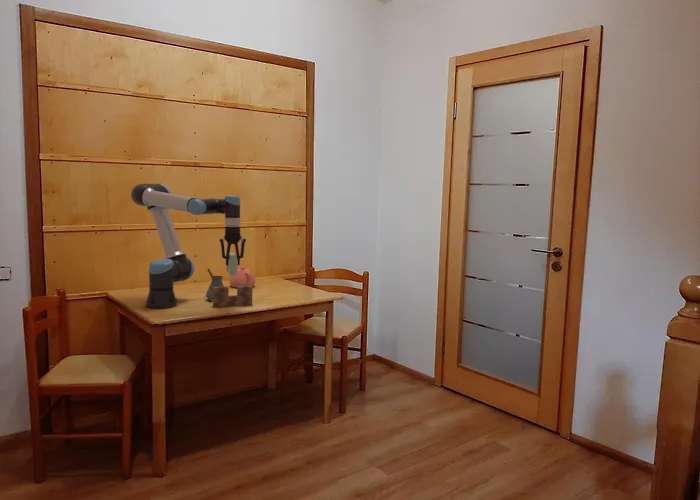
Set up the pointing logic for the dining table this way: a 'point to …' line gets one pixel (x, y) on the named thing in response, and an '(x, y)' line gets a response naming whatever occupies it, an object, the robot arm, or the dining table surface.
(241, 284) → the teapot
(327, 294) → the dining table surface
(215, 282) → the coffee pot
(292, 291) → the dining table surface
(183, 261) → the robot arm
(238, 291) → the walnut slotted plate
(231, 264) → the green slotted plate
